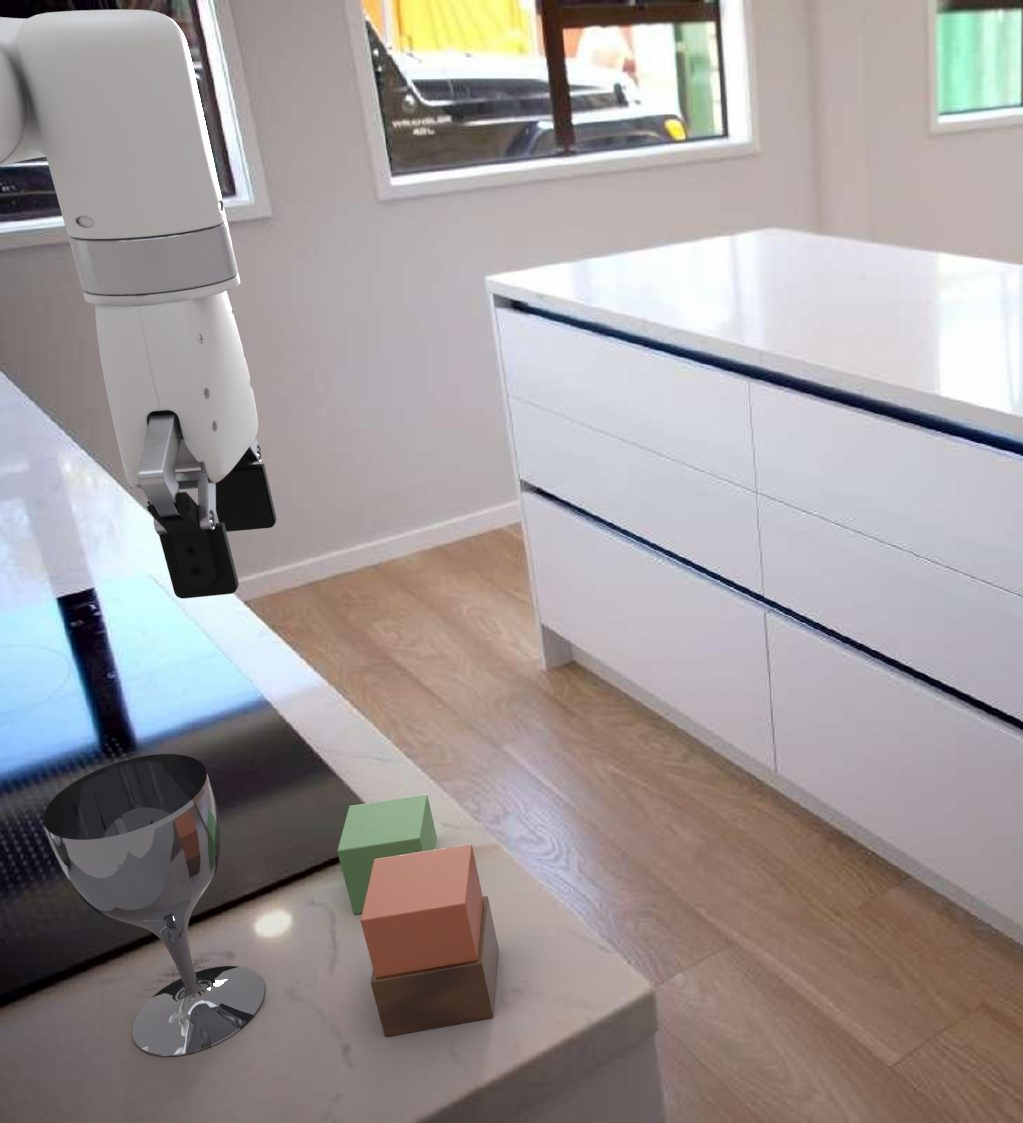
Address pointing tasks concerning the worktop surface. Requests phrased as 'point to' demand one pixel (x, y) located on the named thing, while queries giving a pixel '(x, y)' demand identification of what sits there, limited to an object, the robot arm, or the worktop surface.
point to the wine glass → (155, 885)
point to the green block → (382, 839)
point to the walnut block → (441, 989)
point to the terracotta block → (423, 910)
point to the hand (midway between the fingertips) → (230, 559)
